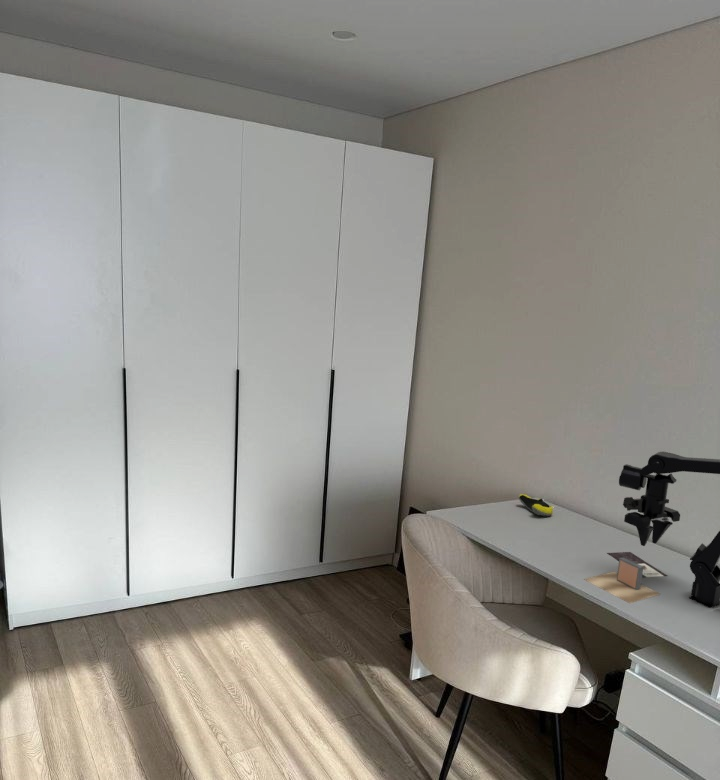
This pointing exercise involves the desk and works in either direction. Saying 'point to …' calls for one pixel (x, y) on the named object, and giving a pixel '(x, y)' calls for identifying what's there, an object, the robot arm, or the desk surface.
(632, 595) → the mat
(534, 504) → the black and yellow shoe
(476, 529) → the desk surface
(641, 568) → the tile
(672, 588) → the desk surface
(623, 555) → the chocolate bar
